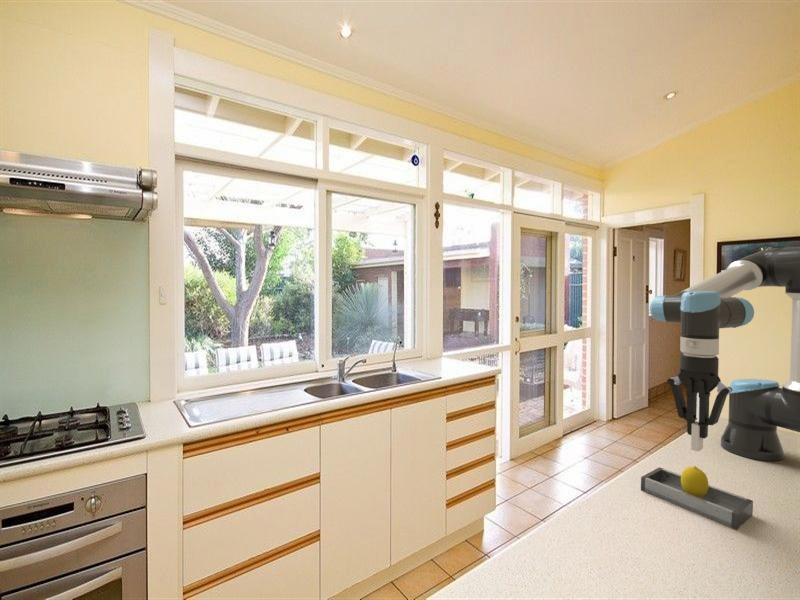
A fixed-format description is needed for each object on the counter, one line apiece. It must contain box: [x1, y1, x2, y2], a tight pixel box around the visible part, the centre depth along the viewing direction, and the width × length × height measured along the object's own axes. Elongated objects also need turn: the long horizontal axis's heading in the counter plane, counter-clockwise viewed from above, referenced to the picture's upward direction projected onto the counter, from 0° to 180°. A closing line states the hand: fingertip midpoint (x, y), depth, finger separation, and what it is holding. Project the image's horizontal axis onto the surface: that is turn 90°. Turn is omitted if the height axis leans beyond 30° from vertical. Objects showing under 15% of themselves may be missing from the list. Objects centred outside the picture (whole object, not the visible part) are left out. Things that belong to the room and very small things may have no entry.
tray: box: [640, 467, 754, 531], centre depth 98 cm, size 10×20×4 cm, turn 33°
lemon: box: [680, 465, 710, 497], centre depth 98 cm, size 6×6×8 cm
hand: (697, 449), depth 98 cm, fingers closed
